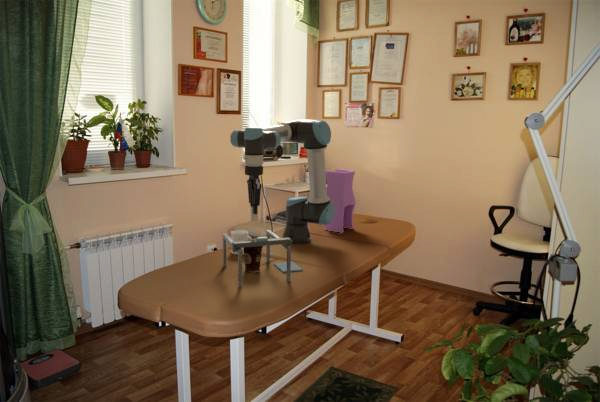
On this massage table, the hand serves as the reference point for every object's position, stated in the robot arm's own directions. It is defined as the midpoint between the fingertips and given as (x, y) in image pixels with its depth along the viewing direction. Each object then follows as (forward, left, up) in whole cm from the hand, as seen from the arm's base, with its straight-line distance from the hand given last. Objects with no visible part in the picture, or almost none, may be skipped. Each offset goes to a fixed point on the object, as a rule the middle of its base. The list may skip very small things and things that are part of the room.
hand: (254, 221), depth 203 cm
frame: (+3, 0, -22) cm, 22 cm away
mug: (-29, +3, -22) cm, 36 cm away
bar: (+13, 0, -9) cm, 15 cm away
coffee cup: (-2, 0, -22) cm, 22 cm away
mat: (-1, +16, -22) cm, 27 cm away
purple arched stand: (-59, +69, -22) cm, 93 cm away
